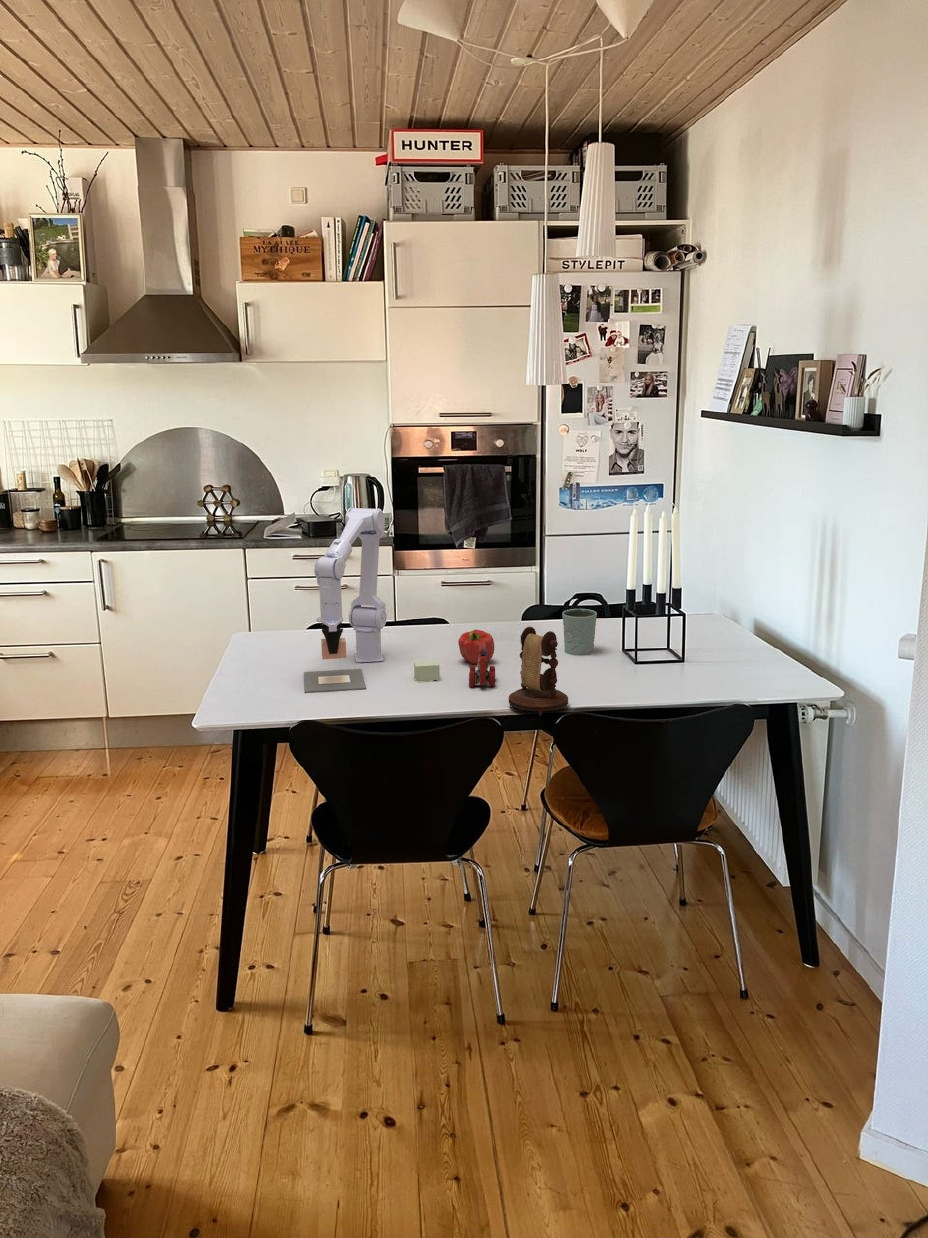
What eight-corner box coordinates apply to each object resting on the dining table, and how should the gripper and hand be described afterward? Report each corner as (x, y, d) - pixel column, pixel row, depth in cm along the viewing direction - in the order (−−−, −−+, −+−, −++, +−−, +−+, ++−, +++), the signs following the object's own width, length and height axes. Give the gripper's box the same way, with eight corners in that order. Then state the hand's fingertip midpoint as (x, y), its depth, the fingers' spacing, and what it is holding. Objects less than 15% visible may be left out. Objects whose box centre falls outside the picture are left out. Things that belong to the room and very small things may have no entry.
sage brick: (414, 677, 273) (414, 661, 272) (437, 676, 274) (437, 660, 272) (416, 682, 268) (415, 666, 267) (439, 681, 269) (439, 665, 268)
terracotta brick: (321, 654, 270) (321, 638, 269) (345, 653, 271) (344, 637, 270) (322, 659, 265) (321, 643, 264) (346, 658, 267) (345, 641, 265)
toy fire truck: (468, 690, 261) (468, 652, 258) (469, 676, 273) (469, 640, 270) (495, 690, 260) (495, 652, 258) (495, 676, 272) (495, 640, 270)
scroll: (496, 707, 247) (496, 629, 242) (535, 694, 257) (536, 618, 252) (541, 721, 237) (541, 640, 232) (580, 706, 247) (581, 628, 242)
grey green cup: (595, 647, 300) (596, 608, 297) (596, 656, 290) (597, 616, 288) (561, 647, 301) (562, 608, 298) (561, 656, 291) (562, 616, 289)
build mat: (303, 673, 277) (303, 671, 277) (361, 670, 280) (361, 668, 280) (304, 693, 260) (304, 691, 260) (366, 689, 262) (366, 687, 262)
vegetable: (487, 669, 279) (487, 634, 277) (452, 666, 283) (452, 632, 280) (498, 659, 289) (498, 625, 287) (465, 656, 293) (464, 623, 290)
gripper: (314, 596, 271) (317, 645, 274) (316, 608, 257) (318, 659, 260) (341, 595, 272) (342, 643, 275) (343, 607, 258) (345, 657, 261)
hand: (332, 651), depth 268 cm, fingers closed on terracotta brick, 4 cm apart
